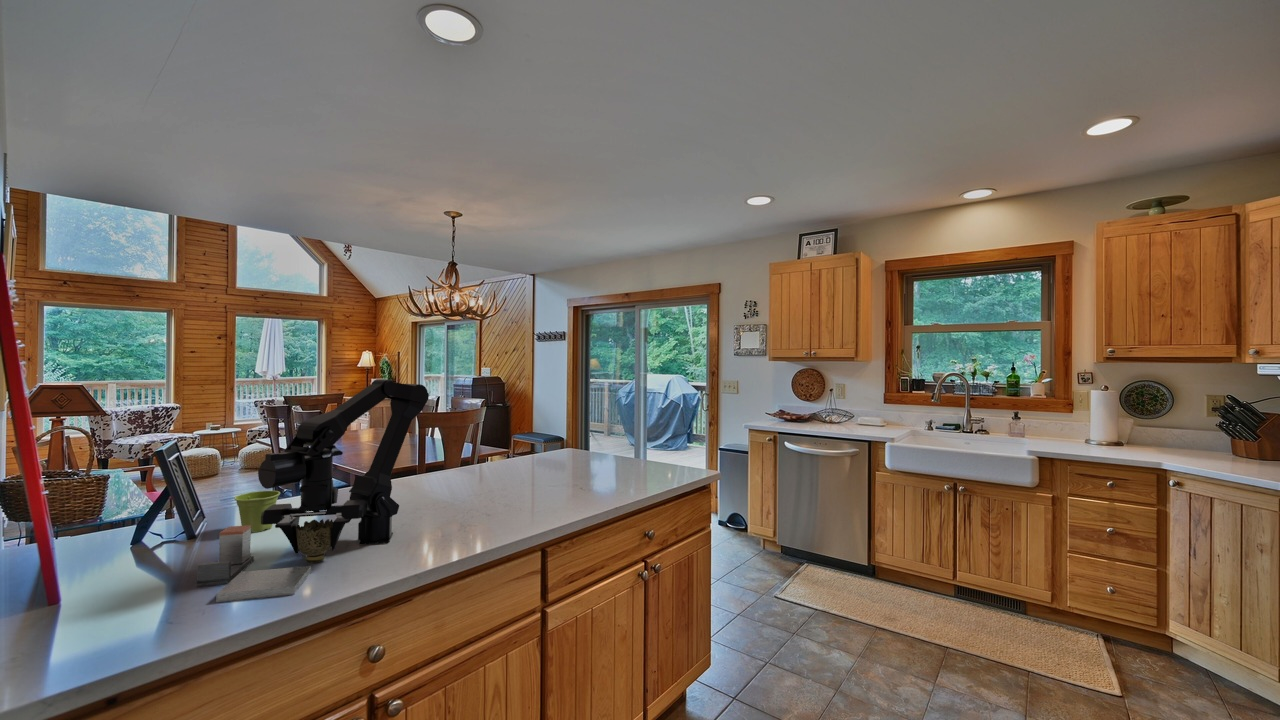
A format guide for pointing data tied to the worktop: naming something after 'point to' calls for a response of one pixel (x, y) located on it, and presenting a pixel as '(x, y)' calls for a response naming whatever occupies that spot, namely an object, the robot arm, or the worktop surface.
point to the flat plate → (264, 583)
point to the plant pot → (255, 508)
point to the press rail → (219, 572)
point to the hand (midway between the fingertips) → (315, 551)
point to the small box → (235, 544)
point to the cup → (314, 539)
